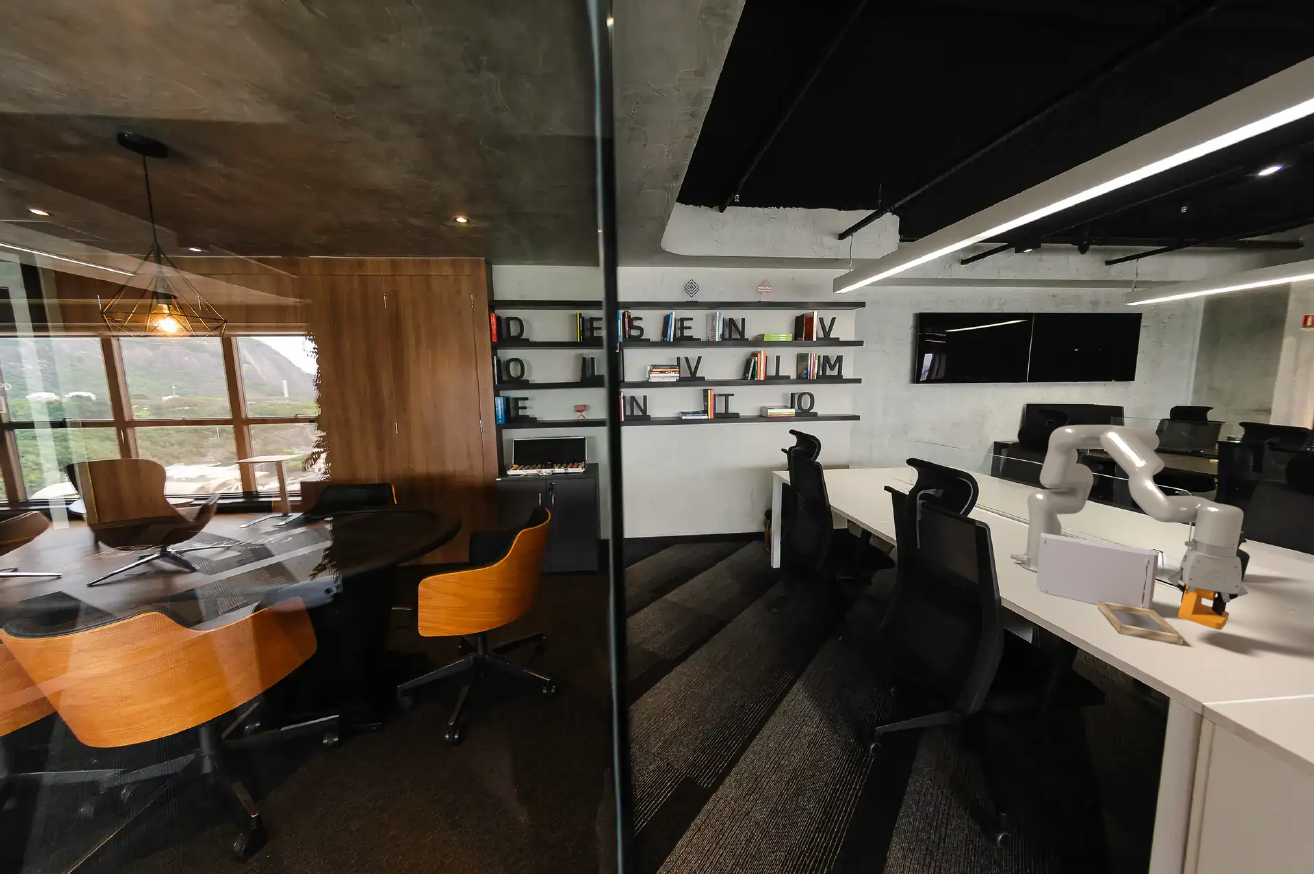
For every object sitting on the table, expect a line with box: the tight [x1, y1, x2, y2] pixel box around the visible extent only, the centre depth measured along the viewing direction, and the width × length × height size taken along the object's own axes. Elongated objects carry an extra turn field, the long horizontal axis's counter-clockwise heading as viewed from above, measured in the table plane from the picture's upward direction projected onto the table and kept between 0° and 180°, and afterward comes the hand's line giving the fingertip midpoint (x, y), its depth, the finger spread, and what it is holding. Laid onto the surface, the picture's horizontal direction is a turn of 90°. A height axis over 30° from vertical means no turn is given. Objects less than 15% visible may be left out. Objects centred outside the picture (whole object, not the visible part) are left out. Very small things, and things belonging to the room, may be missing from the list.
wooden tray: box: [1097, 601, 1184, 647], centre depth 130 cm, size 12×16×2 cm
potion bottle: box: [1236, 530, 1251, 582], centre depth 159 cm, size 8×8×18 cm
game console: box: [1035, 533, 1159, 610], centre depth 144 cm, size 6×27×20 cm, turn 47°
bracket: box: [1177, 586, 1230, 631], centre depth 120 cm, size 11×7×12 cm, turn 119°
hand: (1201, 609), depth 121 cm, fingers closed on bracket, 4 cm apart
